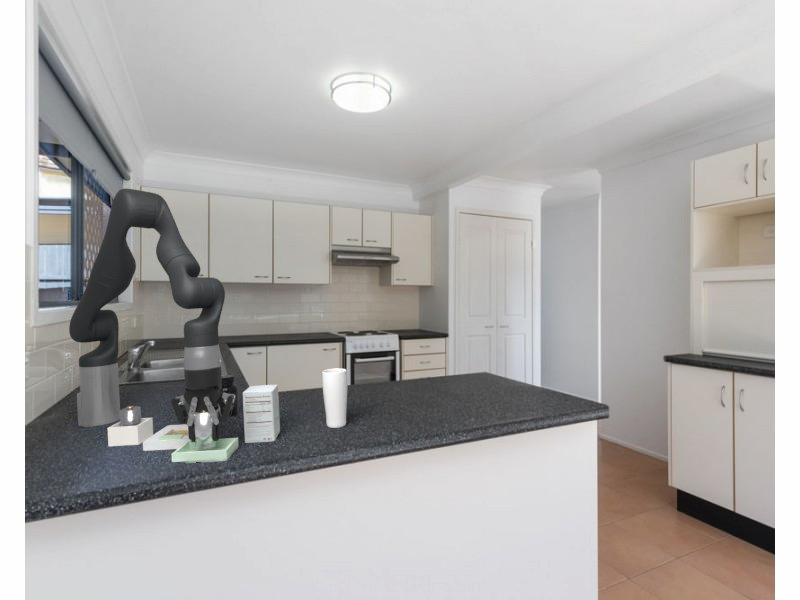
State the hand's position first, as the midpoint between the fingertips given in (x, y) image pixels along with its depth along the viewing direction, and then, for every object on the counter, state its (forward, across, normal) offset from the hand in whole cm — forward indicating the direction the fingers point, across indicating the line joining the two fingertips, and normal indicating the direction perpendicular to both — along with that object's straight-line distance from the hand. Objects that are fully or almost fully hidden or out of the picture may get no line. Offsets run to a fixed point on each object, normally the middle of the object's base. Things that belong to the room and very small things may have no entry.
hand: (206, 440), depth 94 cm
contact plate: (+4, -10, +10) cm, 15 cm away
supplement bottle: (+4, -6, +31) cm, 32 cm away
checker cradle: (+4, -10, +10) cm, 15 cm away
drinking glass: (+4, +28, +16) cm, 32 cm away
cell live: (+1, 0, 0) cm, 1 cm away
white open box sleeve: (+4, -23, +12) cm, 26 cm away
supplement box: (+4, +10, +10) cm, 15 cm away
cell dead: (+3, -23, +12) cm, 26 cm away
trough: (+3, 0, 0) cm, 3 cm away
